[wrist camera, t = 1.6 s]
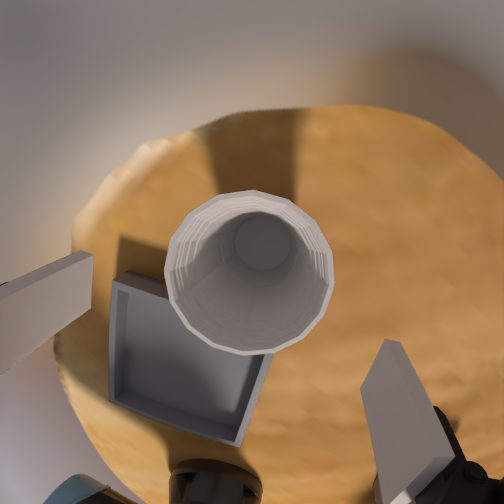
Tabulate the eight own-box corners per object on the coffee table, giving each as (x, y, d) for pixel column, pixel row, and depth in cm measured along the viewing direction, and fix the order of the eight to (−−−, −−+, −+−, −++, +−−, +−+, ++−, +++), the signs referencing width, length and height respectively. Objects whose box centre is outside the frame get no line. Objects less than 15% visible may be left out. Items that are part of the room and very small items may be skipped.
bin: (243, 429, 37) (239, 447, 34) (120, 386, 38) (109, 401, 35) (282, 317, 32) (280, 332, 29) (128, 270, 34) (112, 280, 30)
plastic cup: (343, 248, 30) (371, 291, 18) (259, 313, 33) (241, 382, 21) (269, 161, 29) (253, 151, 17) (188, 234, 32) (132, 267, 20)
